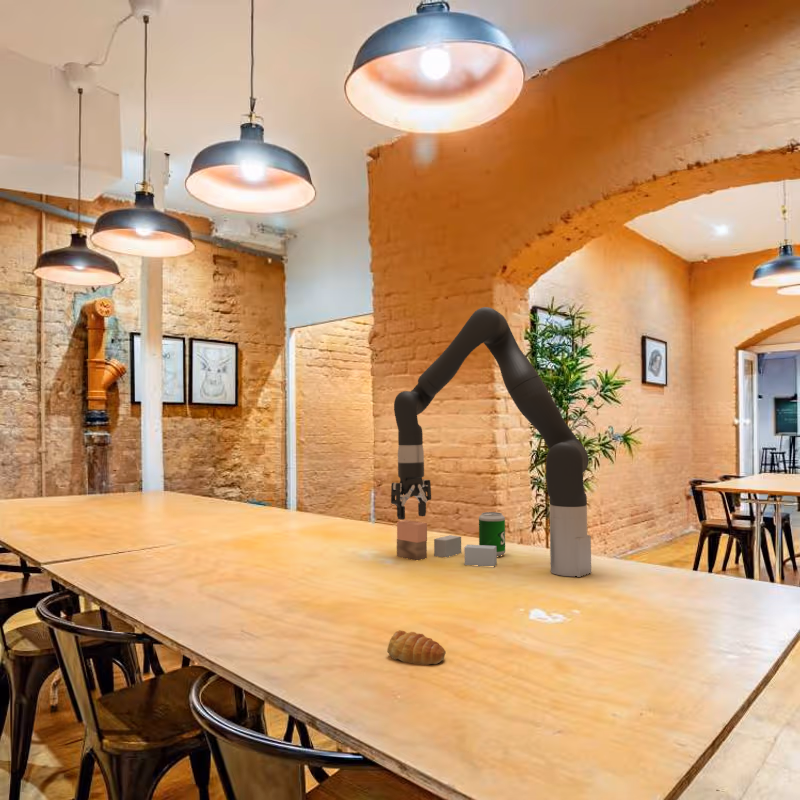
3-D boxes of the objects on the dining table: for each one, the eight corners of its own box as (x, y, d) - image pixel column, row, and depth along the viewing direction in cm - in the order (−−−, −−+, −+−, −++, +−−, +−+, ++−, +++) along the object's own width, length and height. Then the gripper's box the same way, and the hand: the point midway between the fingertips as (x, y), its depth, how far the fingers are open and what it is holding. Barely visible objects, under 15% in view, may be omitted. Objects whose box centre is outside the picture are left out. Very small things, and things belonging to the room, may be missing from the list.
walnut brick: (426, 558, 179) (426, 540, 179) (417, 560, 176) (417, 542, 176) (406, 554, 184) (406, 537, 185) (396, 556, 182) (396, 539, 182)
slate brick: (450, 552, 188) (450, 535, 188) (461, 553, 186) (461, 536, 186) (434, 556, 182) (434, 539, 182) (445, 558, 179) (445, 540, 180)
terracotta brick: (427, 540, 179) (427, 523, 179) (417, 542, 176) (417, 524, 176) (406, 537, 185) (406, 520, 185) (397, 539, 182) (397, 521, 182)
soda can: (497, 559, 177) (497, 516, 178) (474, 555, 182) (473, 514, 182) (510, 554, 183) (509, 513, 184) (487, 551, 188) (486, 511, 188)
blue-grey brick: (496, 564, 171) (496, 546, 171) (494, 567, 167) (494, 548, 167) (467, 562, 174) (467, 544, 174) (464, 566, 170) (464, 547, 170)
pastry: (452, 657, 104) (452, 634, 104) (433, 671, 98) (433, 646, 98) (404, 647, 109) (403, 624, 109) (382, 660, 103) (382, 636, 103)
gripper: (402, 462, 173) (403, 521, 173) (437, 459, 184) (438, 516, 183) (383, 461, 179) (384, 519, 178) (418, 459, 189) (419, 513, 188)
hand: (411, 517), depth 180 cm, fingers open, 8 cm apart
